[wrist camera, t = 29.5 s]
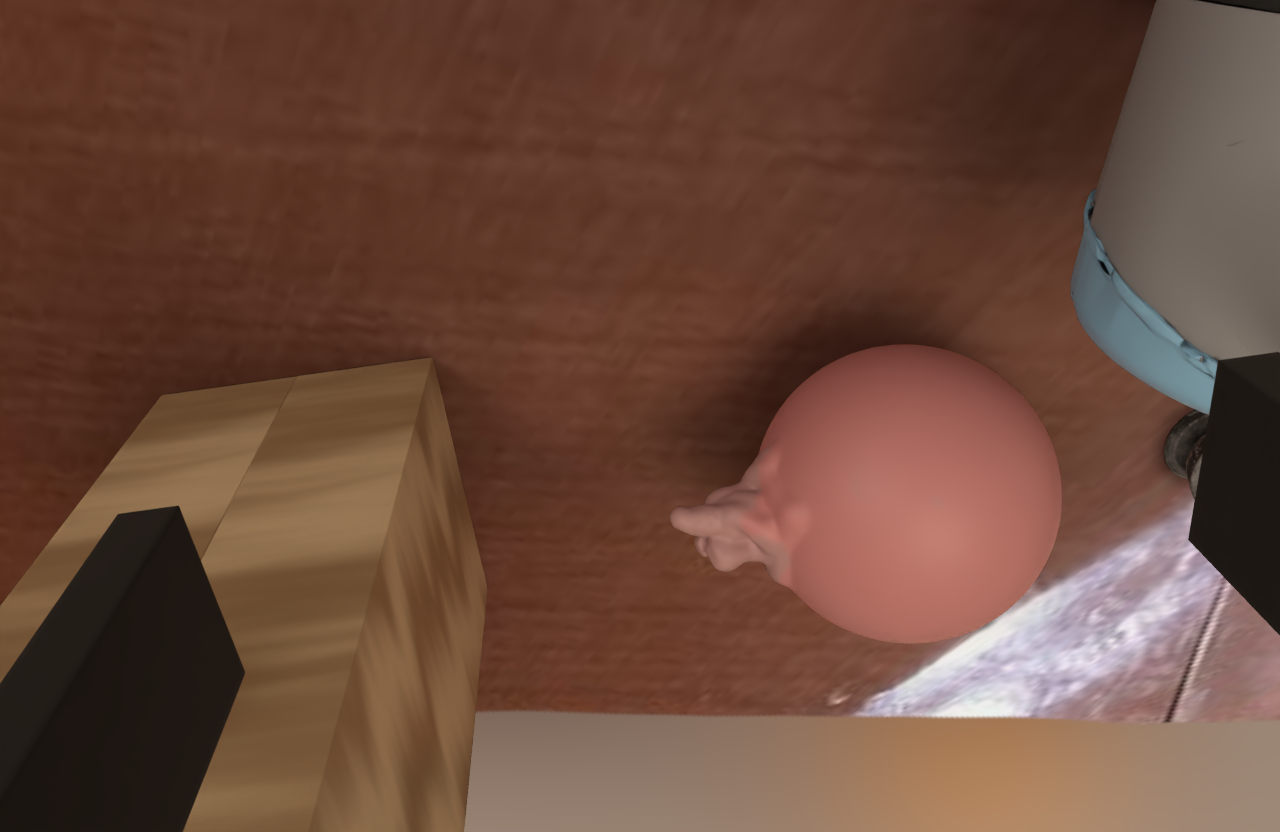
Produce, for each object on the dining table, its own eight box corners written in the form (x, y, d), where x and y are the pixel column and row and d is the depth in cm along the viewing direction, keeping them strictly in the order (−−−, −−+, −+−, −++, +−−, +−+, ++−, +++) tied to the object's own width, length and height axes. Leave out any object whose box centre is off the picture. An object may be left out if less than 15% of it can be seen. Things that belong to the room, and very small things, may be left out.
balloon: (664, 293, 55) (699, 428, 41) (1019, 303, 57) (1163, 436, 43) (646, 529, 62) (671, 711, 49) (962, 532, 64) (1071, 708, 50)
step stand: (161, 394, 56) (-438, 1173, 22) (432, 356, 56) (246, 1074, 22) (248, 622, 63) (-99, 1460, 30) (487, 588, 63) (410, 1384, 30)
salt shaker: (1196, 498, 64) (1322, 621, 54) (1139, 450, 62) (1260, 568, 51) (1273, 433, 62) (1420, 547, 52) (1217, 381, 60) (1359, 488, 50)
